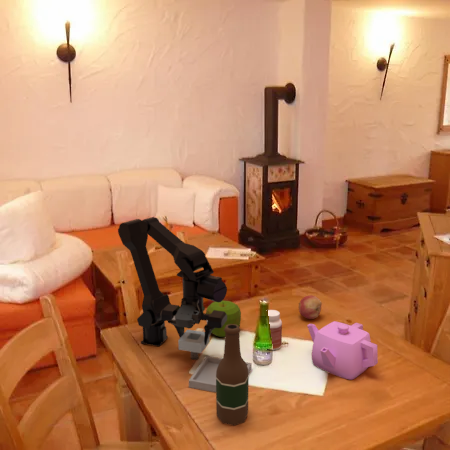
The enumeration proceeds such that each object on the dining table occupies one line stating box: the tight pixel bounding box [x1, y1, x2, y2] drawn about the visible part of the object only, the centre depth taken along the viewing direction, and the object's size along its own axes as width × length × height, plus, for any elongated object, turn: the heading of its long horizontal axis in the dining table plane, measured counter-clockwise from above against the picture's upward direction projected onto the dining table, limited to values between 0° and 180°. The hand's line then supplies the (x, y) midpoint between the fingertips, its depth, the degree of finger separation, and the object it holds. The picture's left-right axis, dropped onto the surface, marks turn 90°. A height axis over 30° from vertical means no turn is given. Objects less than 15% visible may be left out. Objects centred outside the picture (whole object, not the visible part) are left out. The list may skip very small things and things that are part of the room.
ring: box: [177, 327, 210, 354], centre depth 152 cm, size 9×7×3 cm
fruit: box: [298, 294, 323, 320], centre depth 176 cm, size 8×8×8 cm
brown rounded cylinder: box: [190, 351, 199, 361], centre depth 152 cm, size 2×2×4 cm
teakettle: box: [306, 320, 379, 381], centre depth 146 cm, size 17×17×12 cm
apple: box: [205, 299, 242, 338], centre depth 166 cm, size 11×11×11 cm
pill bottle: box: [267, 309, 283, 351], centre depth 157 cm, size 6×6×11 cm
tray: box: [188, 355, 253, 393], centre depth 141 cm, size 14×14×2 cm
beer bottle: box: [215, 324, 250, 426], centre depth 122 cm, size 8×8×24 cm
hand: (194, 342), depth 151 cm, fingers closed on ring, 7 cm apart
